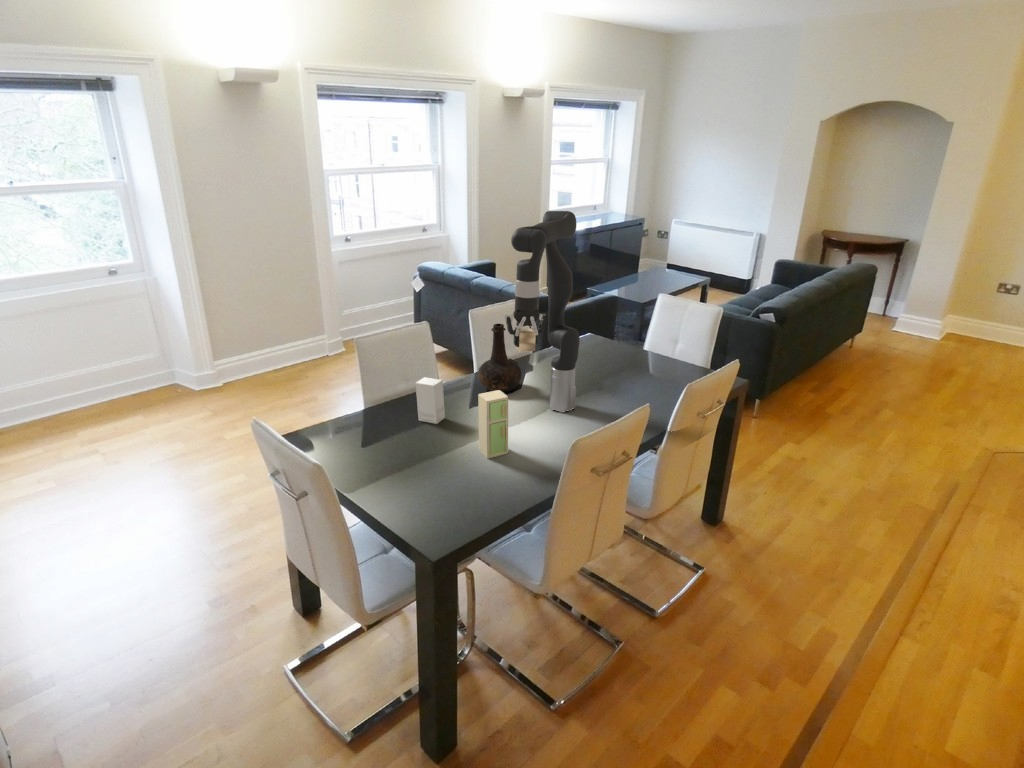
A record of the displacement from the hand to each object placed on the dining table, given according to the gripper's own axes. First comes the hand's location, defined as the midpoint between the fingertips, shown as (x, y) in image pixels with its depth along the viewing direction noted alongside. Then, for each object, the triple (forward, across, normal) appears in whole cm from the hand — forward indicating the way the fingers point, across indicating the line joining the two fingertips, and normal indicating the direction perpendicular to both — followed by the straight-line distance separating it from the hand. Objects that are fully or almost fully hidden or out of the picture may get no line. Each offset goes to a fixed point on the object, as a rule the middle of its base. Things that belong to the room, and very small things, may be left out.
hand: (525, 345), depth 200 cm
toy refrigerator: (+37, +10, +2) cm, 38 cm away
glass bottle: (+36, -5, -53) cm, 64 cm away
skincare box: (+37, +27, -29) cm, 54 cm away
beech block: (+1, 0, 0) cm, 1 cm away
